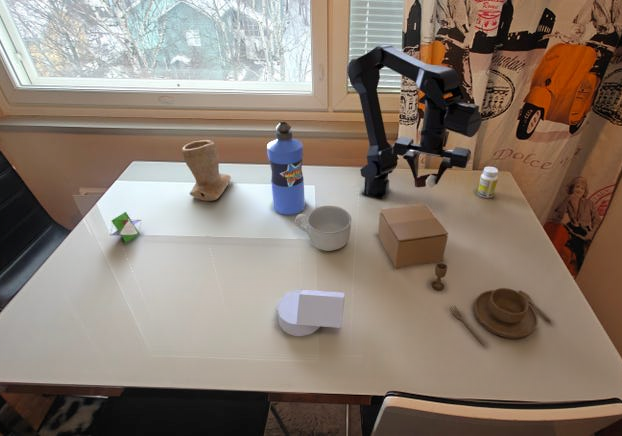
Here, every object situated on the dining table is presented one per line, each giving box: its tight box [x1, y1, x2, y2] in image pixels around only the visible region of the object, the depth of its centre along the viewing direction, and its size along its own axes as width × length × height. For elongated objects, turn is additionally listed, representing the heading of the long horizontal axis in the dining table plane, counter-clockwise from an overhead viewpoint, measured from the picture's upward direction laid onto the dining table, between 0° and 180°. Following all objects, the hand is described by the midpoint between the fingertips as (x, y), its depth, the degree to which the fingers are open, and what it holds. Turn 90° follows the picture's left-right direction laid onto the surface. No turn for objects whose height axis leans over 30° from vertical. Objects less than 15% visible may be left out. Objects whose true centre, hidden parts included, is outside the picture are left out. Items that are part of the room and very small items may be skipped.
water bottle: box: [266, 121, 306, 216], centre depth 105 cm, size 9×9×25 cm
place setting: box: [430, 262, 552, 346], centre depth 80 cm, size 18×20×6 cm
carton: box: [377, 211, 449, 269], centre depth 94 cm, size 13×12×8 cm
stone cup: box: [181, 139, 232, 202], centre depth 115 cm, size 15×12×15 cm
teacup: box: [294, 205, 352, 252], centre depth 96 cm, size 14×11×8 cm
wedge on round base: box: [276, 289, 346, 337], centre depth 76 cm, size 9×7×13 cm
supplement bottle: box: [476, 166, 499, 199], centre depth 116 cm, size 5×5×8 cm
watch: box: [413, 173, 438, 189], centre depth 101 cm, size 8×5×4 cm, turn 123°
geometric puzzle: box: [109, 211, 142, 244], centre depth 98 cm, size 7×7×8 cm
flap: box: [379, 203, 436, 225], centre depth 95 cm, size 6×12×1 cm, turn 103°
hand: (426, 181), depth 102 cm, fingers closed on watch, 5 cm apart
